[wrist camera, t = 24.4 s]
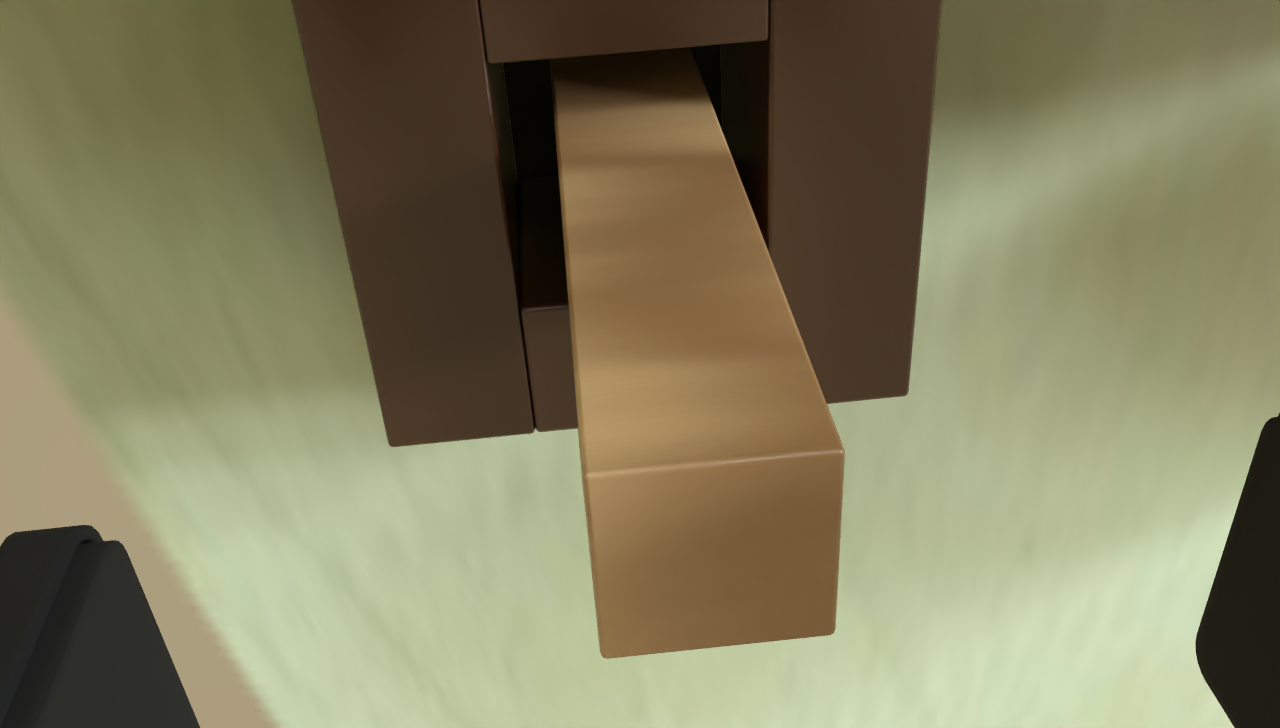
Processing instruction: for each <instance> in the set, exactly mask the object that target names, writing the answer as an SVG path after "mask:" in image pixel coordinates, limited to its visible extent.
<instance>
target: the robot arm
mask: <svg viewBox="0 0 1280 728" xmlns="http://www.w3.org/2000/svg"><path fill="white" fill-rule="evenodd" d="M1196 655H1197V660H1198V664H1199V667H1200V670H1201V673H1202V675H1203V677H1204V679H1205V681H1206V682H1207V684H1208V686H1209V687H1210V689H1211V690H1212V692H1213V694H1214V695H1215V697H1216V698H1217V700H1218V702H1219V703H1220V705H1221V706H1222V708H1223V710H1224V711H1225V713H1226V714H1227V716H1228V718H1229V719H1230V721H1231V722H1232V724H1233V726H1234V727H1235V728H1280V414H1279V416H1278V417H1274V418H1271V419H1269V420H1268V421H1267V422H1266V423H1265V425H1264V427H1263V429H1262V431H1261V434H1260V437H1259V441H1258V444H1257V447H1256V450H1255V453H1254V456H1253V459H1252V463H1251V466H1250V469H1249V472H1248V475H1247V478H1246V481H1245V485H1244V488H1243V491H1242V494H1241V497H1240V500H1239V503H1238V507H1237V510H1236V513H1235V516H1234V519H1233V522H1232V525H1231V529H1230V532H1229V535H1228V538H1227V541H1226V544H1225V548H1224V551H1223V554H1222V557H1221V560H1220V563H1219V566H1218V570H1217V573H1216V576H1215V579H1214V582H1213V585H1212V588H1211V592H1210V595H1209V598H1208V601H1207V604H1206V607H1205V610H1204V614H1203V617H1202V620H1201V623H1200V626H1199V629H1198V632H1197V637H1196ZM0 728H200V726H199V724H198V721H197V719H196V717H195V714H194V712H193V709H192V707H191V705H190V702H189V700H188V697H187V695H186V693H185V690H184V688H183V686H182V683H181V681H180V678H179V676H178V673H177V671H176V669H175V666H174V664H173V661H172V659H171V657H170V654H169V652H168V650H167V647H166V645H165V642H164V640H163V637H162V635H161V633H160V631H159V628H158V626H157V624H156V621H155V618H154V616H153V613H152V611H151V609H150V607H149V604H148V602H147V599H146V597H145V594H144V592H143V590H142V587H141V585H140V583H139V580H138V577H137V575H136V573H135V570H134V568H133V566H132V563H131V561H130V558H129V556H128V553H127V551H126V550H125V548H124V546H123V545H122V544H121V543H120V542H119V541H113V540H112V541H103V540H102V538H101V536H100V534H99V533H98V531H97V530H96V529H94V528H93V527H92V526H89V525H80V526H70V527H62V528H51V529H42V530H32V531H23V532H15V533H13V534H11V535H9V536H8V537H6V539H5V540H4V542H3V543H2V545H1V547H0Z"/></svg>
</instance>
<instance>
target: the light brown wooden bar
mask: <svg viewBox="0 0 1280 728" xmlns="http://www.w3.org/2000/svg"><path fill="white" fill-rule="evenodd" d="M550 70H551V83H552V96H553V109H554V122H555V135H556V148H557V161H558V174H559V187H560V200H561V213H562V226H563V239H564V252H565V265H566V278H567V290H568V303H569V316H570V329H571V342H572V355H573V368H574V381H575V394H576V407H577V420H578V433H579V446H580V459H581V472H582V483H583V492H584V502H585V512H586V521H587V531H588V540H589V550H590V560H591V569H592V579H593V588H594V598H595V608H596V617H597V627H598V636H599V646H600V653H601V655H602V656H603V658H607V659H608V658H617V657H627V656H636V655H646V654H655V653H665V652H674V651H683V650H693V649H702V648H712V647H721V646H731V645H740V644H750V643H759V642H768V641H778V640H787V639H797V638H806V637H816V636H825V635H831V634H833V633H834V631H835V626H836V607H837V589H838V570H839V552H840V534H841V515H842V497H843V479H844V460H845V450H844V448H843V445H842V443H841V440H840V437H839V435H838V432H837V430H836V427H835V424H834V422H833V419H832V416H831V414H830V411H829V409H828V406H827V403H826V401H825V398H824V396H823V393H822V390H821V388H820V385H819V382H818V380H817V377H816V375H815V372H814V369H813V367H812V364H811V362H810V359H809V356H808V354H807V351H806V349H805V346H804V343H803V341H802V338H801V335H800V333H799V330H798V328H797V325H796V322H795V320H794V317H793V315H792V312H791V309H790V307H789V304H788V301H787V299H786V296H785V294H784V291H783V288H782V286H781V283H780V281H779V278H778V275H777V273H776V270H775V268H774V265H773V262H772V260H771V257H770V254H769V252H768V249H767V247H766V244H765V241H764V239H763V236H762V234H761V231H760V228H759V226H758V223H757V220H756V218H755V215H754V213H753V210H752V207H751V205H750V202H749V200H748V197H747V194H746V192H745V189H744V187H743V184H742V181H741V179H740V176H739V173H738V171H737V168H736V166H735V163H734V160H733V158H732V155H731V153H730V150H729V147H728V145H727V142H726V139H725V137H724V134H723V132H722V129H721V126H720V124H719V121H718V119H717V116H716V113H715V111H714V108H713V106H712V103H711V100H710V98H709V95H708V92H707V90H706V87H705V85H704V82H703V79H702V77H701V74H700V72H699V69H698V66H697V64H696V61H695V58H694V56H693V53H692V51H691V48H690V47H685V48H674V49H662V50H650V51H638V52H626V53H615V54H603V55H591V56H579V57H567V58H556V59H550Z"/></svg>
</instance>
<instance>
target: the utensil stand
mask: <svg viewBox="0 0 1280 728" xmlns="http://www.w3.org/2000/svg"><path fill="white" fill-rule="evenodd" d="M291 1H292V5H293V10H294V15H295V19H296V24H297V28H298V33H299V37H300V42H301V47H302V51H303V56H304V60H305V65H306V69H307V74H308V78H309V83H310V88H311V92H312V97H313V101H314V106H315V110H316V115H317V120H318V124H319V129H320V133H321V138H322V142H323V147H324V152H325V156H326V161H327V165H328V170H329V174H330V179H331V183H332V188H333V193H334V197H335V202H336V206H337V211H338V215H339V220H340V225H341V229H342V234H343V238H344V243H345V247H346V252H347V257H348V261H349V266H350V270H351V275H352V279H353V284H354V288H355V293H356V298H357V302H358V307H359V311H360V316H361V320H362V325H363V330H364V334H365V339H366V343H367V348H368V352H369V357H370V362H371V366H372V371H373V375H374V380H375V384H376V389H377V394H378V398H379V403H380V407H381V412H382V416H383V421H384V425H385V430H386V435H387V439H388V443H389V445H390V446H391V447H399V446H409V445H419V444H429V443H439V442H449V441H459V440H469V439H479V438H490V437H500V436H510V435H520V434H530V433H533V432H534V430H535V428H536V429H537V431H539V432H546V431H556V430H566V429H576V428H578V420H577V407H576V394H575V381H574V368H573V355H572V342H571V329H570V316H569V303H568V290H567V278H566V265H565V252H564V239H563V226H562V213H561V200H560V187H559V177H547V178H536V179H525V180H521V181H519V184H518V178H517V169H516V161H515V153H514V145H513V137H512V129H511V121H510V112H509V104H508V96H507V88H506V80H505V72H504V64H503V63H508V62H520V61H532V60H544V59H556V58H567V57H579V56H591V55H603V54H615V53H626V52H638V51H650V50H662V49H674V48H685V47H697V46H709V45H720V53H721V109H722V132H723V134H724V137H725V139H726V142H727V145H728V147H729V150H730V153H731V155H732V158H733V160H734V163H735V166H736V168H737V171H738V173H739V176H740V179H741V181H742V184H743V187H744V189H745V192H746V194H747V197H748V200H749V202H750V205H751V207H752V210H753V213H754V215H755V218H756V220H757V223H758V226H759V228H760V231H761V234H762V236H763V239H764V241H765V244H766V247H767V249H768V252H769V254H770V257H771V260H772V262H773V265H774V268H775V270H776V273H777V275H778V278H779V281H780V283H781V286H782V288H783V291H784V294H785V296H786V299H787V301H788V304H789V307H790V309H791V312H792V315H793V317H794V320H795V322H796V325H797V328H798V330H799V333H800V335H801V338H802V341H803V343H804V346H805V349H806V351H807V354H808V356H809V359H810V362H811V364H812V367H813V369H814V372H815V375H816V377H817V380H818V382H819V385H820V388H821V390H822V393H823V396H824V398H825V401H826V403H827V404H830V403H840V402H850V401H860V400H870V399H880V398H890V397H900V396H906V395H907V394H908V391H909V381H910V369H911V358H912V347H913V335H914V324H915V312H916V301H917V289H918V278H919V266H920V255H921V243H922V232H923V221H924V209H925V198H926V186H927V175H928V163H929V152H930V140H931V129H932V117H933V106H934V94H935V83H936V72H937V60H938V49H939V37H940V26H941V14H942V3H943V0H291Z"/></svg>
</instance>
